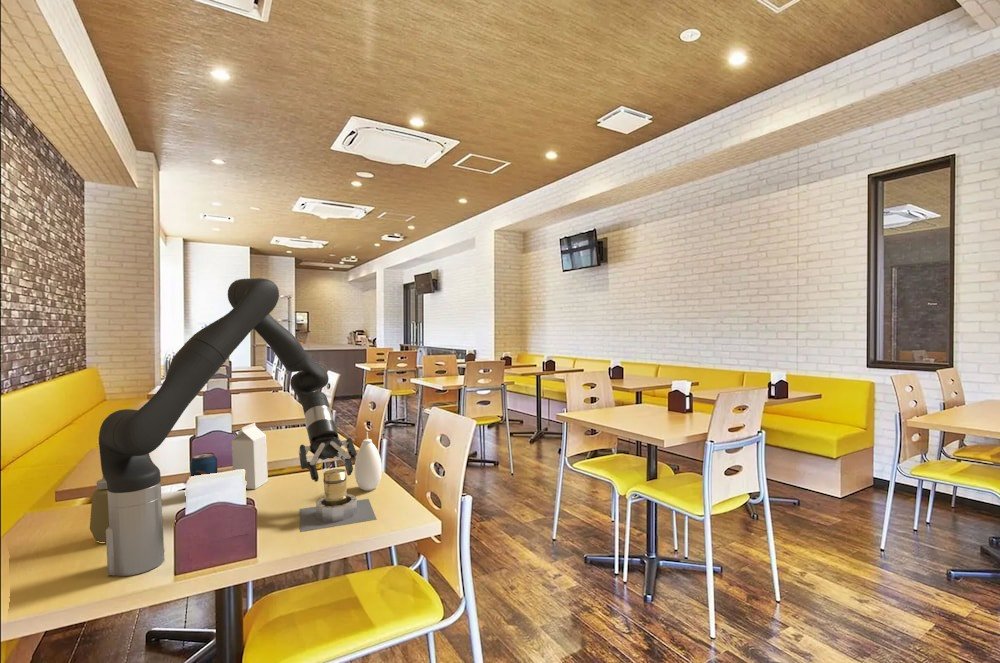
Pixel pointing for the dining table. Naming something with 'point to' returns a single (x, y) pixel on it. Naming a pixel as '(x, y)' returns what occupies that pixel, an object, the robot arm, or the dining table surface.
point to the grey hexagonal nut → (336, 510)
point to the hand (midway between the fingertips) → (333, 476)
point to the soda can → (203, 464)
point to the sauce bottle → (368, 466)
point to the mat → (312, 523)
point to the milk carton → (251, 455)
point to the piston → (335, 487)
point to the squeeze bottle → (99, 511)
